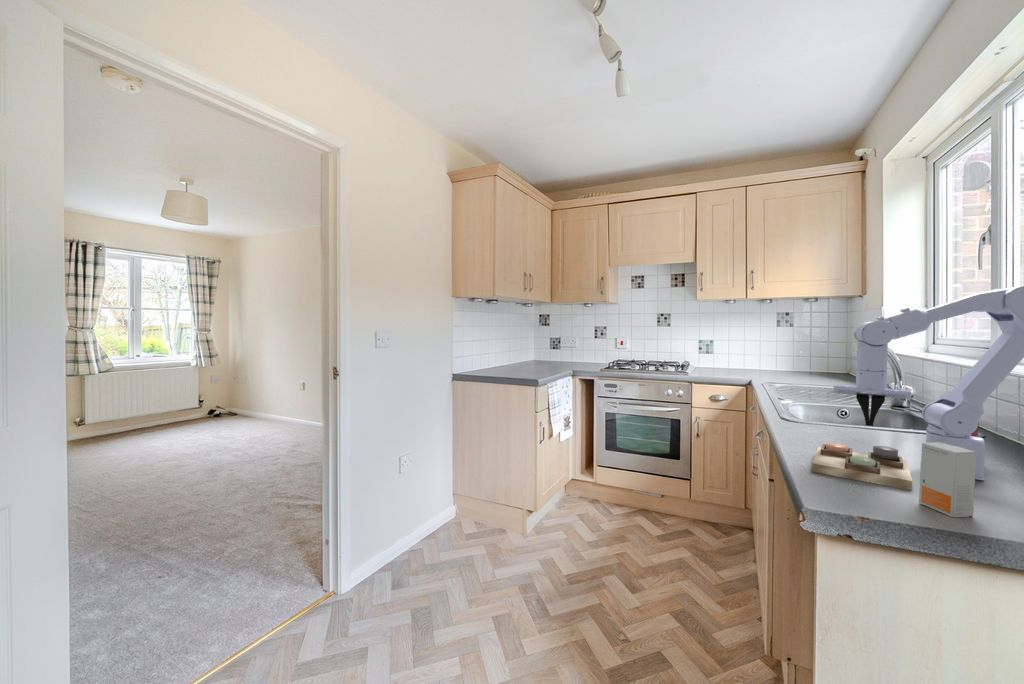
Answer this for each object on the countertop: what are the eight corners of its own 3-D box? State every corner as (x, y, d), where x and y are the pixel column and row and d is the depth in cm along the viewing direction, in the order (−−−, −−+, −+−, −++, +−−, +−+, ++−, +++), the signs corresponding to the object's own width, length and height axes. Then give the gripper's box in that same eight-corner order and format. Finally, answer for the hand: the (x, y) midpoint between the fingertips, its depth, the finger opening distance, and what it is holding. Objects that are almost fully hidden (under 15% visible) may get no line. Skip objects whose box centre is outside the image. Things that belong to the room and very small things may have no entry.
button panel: (906, 468, 100) (907, 455, 100) (911, 490, 87) (912, 475, 87) (818, 454, 111) (818, 442, 110) (811, 471, 98) (812, 458, 98)
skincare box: (917, 503, 81) (920, 442, 80) (937, 502, 81) (940, 441, 81) (953, 518, 75) (956, 452, 74) (974, 517, 75) (978, 451, 75)
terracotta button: (848, 452, 105) (848, 445, 105) (847, 456, 102) (847, 449, 102) (826, 449, 108) (826, 442, 108) (825, 453, 105) (825, 446, 105)
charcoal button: (897, 455, 99) (897, 448, 98) (898, 460, 95) (898, 452, 95) (872, 451, 101) (872, 444, 101) (872, 456, 98) (873, 448, 98)
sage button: (875, 466, 95) (875, 458, 95) (875, 471, 92) (875, 463, 92) (850, 462, 98) (850, 454, 98) (849, 467, 95) (849, 459, 94)
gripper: (833, 369, 105) (831, 423, 105) (913, 374, 95) (910, 433, 96) (835, 367, 110) (833, 418, 111) (911, 371, 101) (908, 427, 101)
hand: (869, 425), depth 104 cm, fingers closed
